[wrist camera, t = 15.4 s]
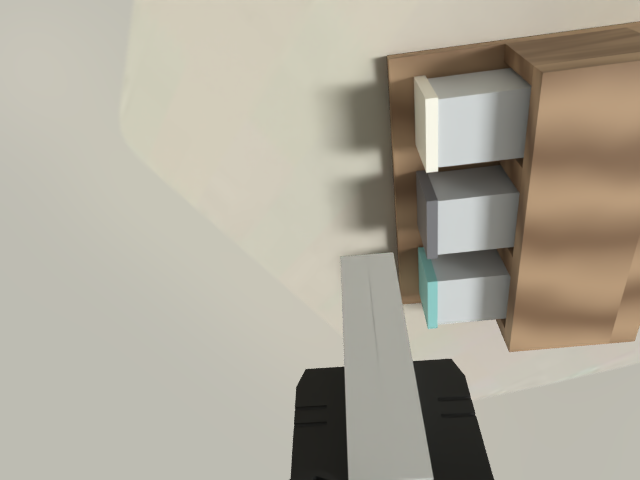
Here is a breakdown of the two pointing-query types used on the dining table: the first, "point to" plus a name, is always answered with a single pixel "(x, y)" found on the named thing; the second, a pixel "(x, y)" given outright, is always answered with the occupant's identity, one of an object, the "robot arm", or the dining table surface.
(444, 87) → the ivory key
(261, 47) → the dining table surface
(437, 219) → the charcoal key
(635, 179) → the key console
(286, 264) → the dining table surface
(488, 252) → the teal key
